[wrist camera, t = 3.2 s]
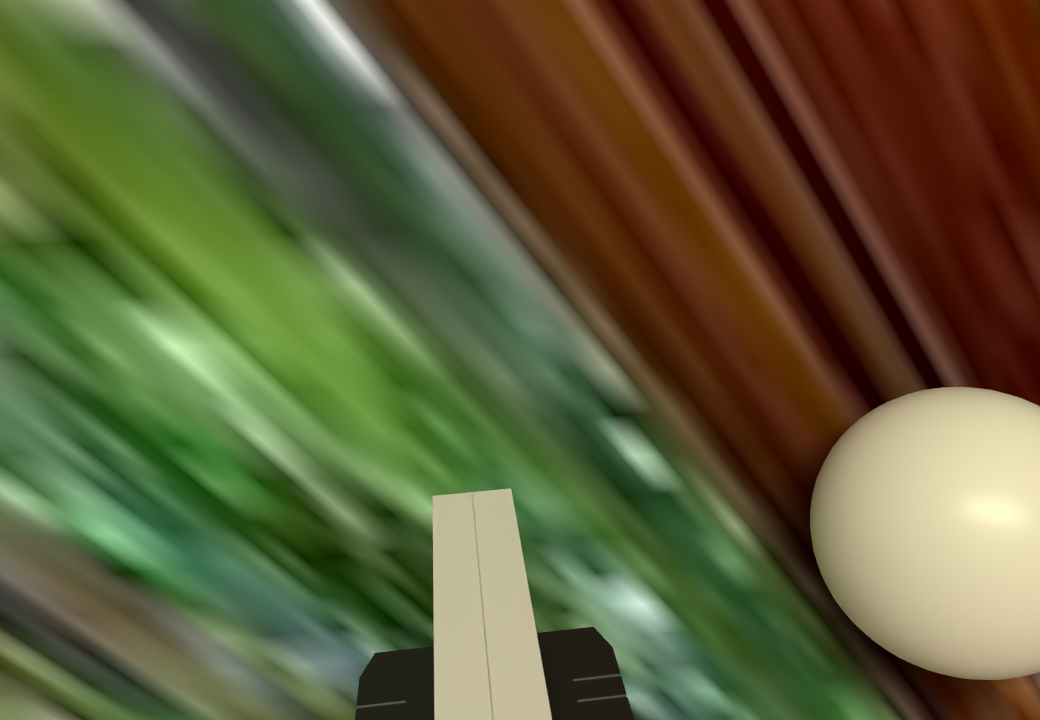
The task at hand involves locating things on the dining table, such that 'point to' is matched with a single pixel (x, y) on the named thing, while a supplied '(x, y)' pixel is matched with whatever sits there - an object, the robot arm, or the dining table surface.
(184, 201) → the dining table surface
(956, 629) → the cue ball
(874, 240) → the dining table surface
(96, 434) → the dining table surface
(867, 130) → the dining table surface
